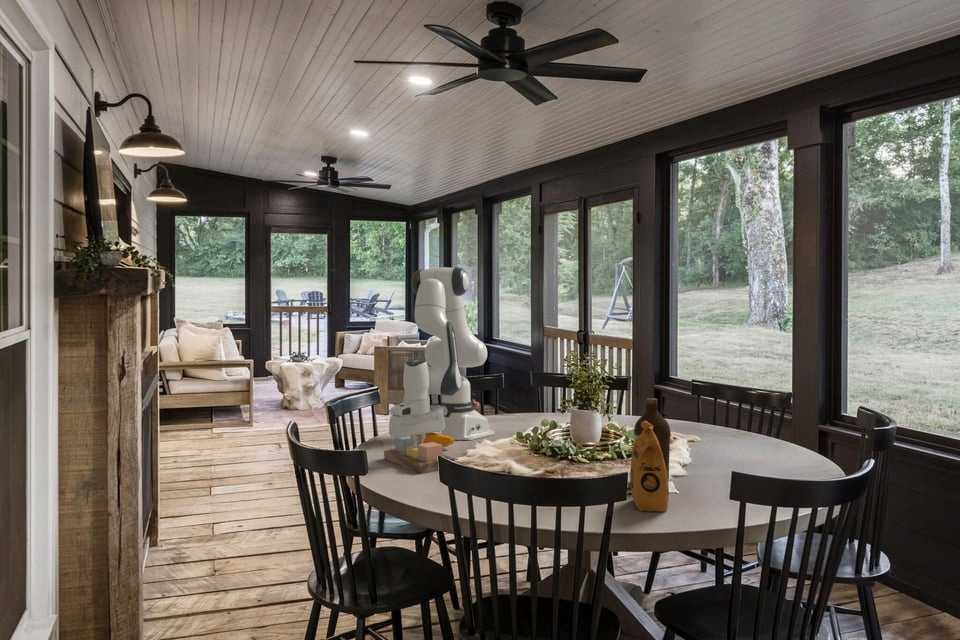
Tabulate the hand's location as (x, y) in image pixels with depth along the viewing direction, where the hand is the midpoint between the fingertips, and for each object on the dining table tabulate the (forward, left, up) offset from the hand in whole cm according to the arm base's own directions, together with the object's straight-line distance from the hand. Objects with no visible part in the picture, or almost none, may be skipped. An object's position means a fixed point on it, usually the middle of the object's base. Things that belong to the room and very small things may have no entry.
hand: (418, 447), depth 243 cm
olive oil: (-44, +65, -6) cm, 79 cm away
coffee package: (-25, +81, -6) cm, 85 cm away
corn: (-15, -17, -6) cm, 23 cm away
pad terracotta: (0, +8, -3) cm, 8 cm away
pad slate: (0, -8, -3) cm, 9 cm away
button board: (0, 0, -6) cm, 6 cm away
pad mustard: (0, 0, -5) cm, 5 cm away
